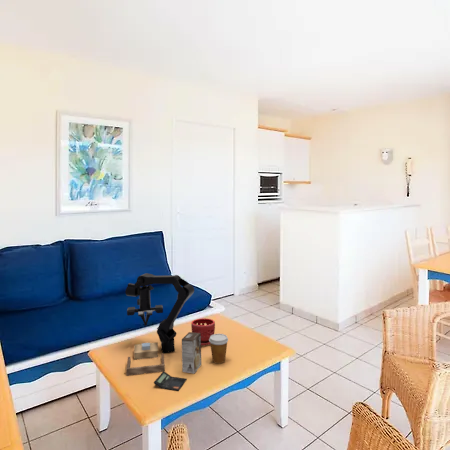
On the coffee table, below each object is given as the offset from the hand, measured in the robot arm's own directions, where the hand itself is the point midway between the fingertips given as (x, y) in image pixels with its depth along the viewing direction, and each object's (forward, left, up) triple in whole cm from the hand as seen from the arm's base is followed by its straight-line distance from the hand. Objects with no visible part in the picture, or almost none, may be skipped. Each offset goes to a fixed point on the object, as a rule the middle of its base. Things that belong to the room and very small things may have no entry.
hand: (145, 325), depth 191 cm
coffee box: (-22, +29, -12) cm, 38 cm away
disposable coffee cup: (-36, +24, -12) cm, 45 cm away
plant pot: (-31, +1, -12) cm, 34 cm away
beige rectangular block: (0, +9, -12) cm, 15 cm away
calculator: (-11, +40, -13) cm, 43 cm away
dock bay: (0, +22, -12) cm, 25 cm away
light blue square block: (0, +10, -8) cm, 13 cm away
